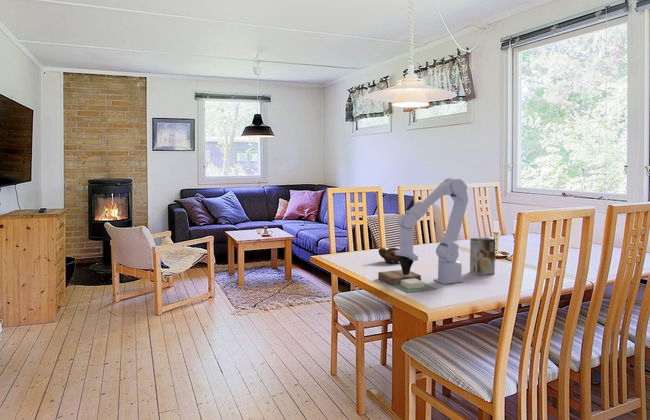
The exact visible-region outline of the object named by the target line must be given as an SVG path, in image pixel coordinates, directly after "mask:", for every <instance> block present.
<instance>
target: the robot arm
mask: <svg viewBox="0 0 650 420" xmlns="http://www.w3.org/2000/svg"><path fill="white" fill-rule="evenodd" d="M443 196H450V198H451V199H452V201H453V205H452V209H451V213H450V216H449V220H448V223H447V226H446V230H445V234H444V237H442V239H441V240H440V242H439V244H438V246H437V247H436V249H435V253H436V255H437V257H438V259H437V260H438V261H437V262H438V263H437V278H433V280H434V281H435V282H439V283H441V284H443V285H446V284H447V285H449V284H454V283H456V284H457V283H462V282H463V280H462V275H463V274H462V273H463V271H462V263H461V262H460V260H458V257H459V255H460V254H459V242H458V238H459V236H460V235H459V234H460V231H461V227H462V224H463V221H464V217H465V214H466V210H467V205H468V204H469V203H468V202H469V196H468V185H467V184H466V182H465V181H464V180H463V179H462V178H450V177H448V178H445V179H444V180H443V181H442V182H440V183H439V185H438V186H437V187H435V188H434V190H433V191H432V192H431V193H429V195H428V196H427V197H426V198H425V199H424V200H422V201H420V200H419V201H416V202H413V206H412V207H410V208H409V209H408V210H406V211H405V213H401V215H400V216H399V217H398V220H397V224H398V226H399V248H398V249H399V250H395V255H399V256H401V258H398V260H399V264H400V267H401V270H402V272H403V275H409V272H410V271H411V268H412V265H413V263H414V262H416V261H419V256H418V255H417V254H415V253H414V227H416V224H417V222H418V221H419V220H420V219H421V218H422V217H424V216H425V215H426V213H428V212H429V207H430V206H432V205H433V204H434V203H436V202H437V201H439V200H440V198H441V197H443Z"/></svg>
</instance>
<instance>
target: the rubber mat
mask: <svg viewBox="0 0 650 420" xmlns="http://www.w3.org/2000/svg"><path fill="white" fill-rule="evenodd" d="M391 286H393V287H394V288H396V289H399V290H400V291H403V292H404V293H406V294H409V293H410V294H411V293H419V292H425V291H426V292H427V291H434V290H438V288H437V287H435V286H432V285H430V284H428V283H425V282H424V287H421V288H412V289H408V288H406V287H404V286H402V285H401V284H395V285H391Z"/></svg>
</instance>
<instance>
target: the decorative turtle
mask: <svg viewBox="0 0 650 420" xmlns="http://www.w3.org/2000/svg"><path fill="white" fill-rule="evenodd" d="M395 250H399V248H397V247H389V248H387V249H386V248H385V247H381V248H379V249H378V254H379V256H380V257H381V258H382V259H383V260H384V262H385V261H386V263H387V264H388V263H389V264H391V263H392V262H393V263H395V264H400V262H399V260H398V258H401V256H399V255H395Z"/></svg>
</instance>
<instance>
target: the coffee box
mask: <svg viewBox="0 0 650 420" xmlns="http://www.w3.org/2000/svg"><path fill="white" fill-rule="evenodd" d="M469 240H470V242H469V243H470V245H469V246H470V247H469V248H470V249H469V250H470V251H469V253H470V255H469V258H470V259H469V272H470V273H471V274H473V275H475V276H486V275H495V270H496V269H495V265H496V264H495V262H496V261H495V259H496V254H495V253H496V239H494V238H489V237H475V238H473V237H472V238H470V239H469Z"/></svg>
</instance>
